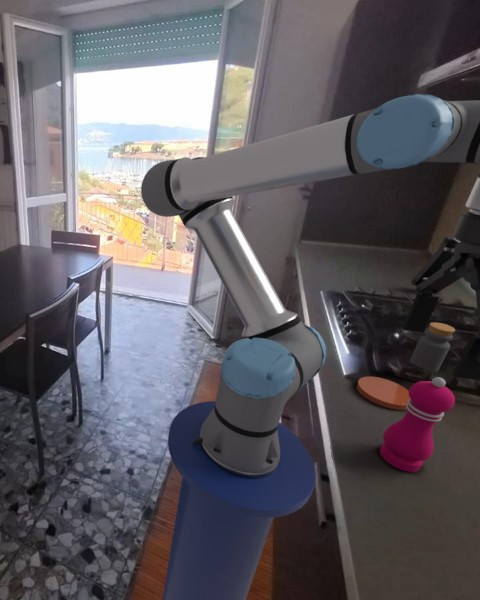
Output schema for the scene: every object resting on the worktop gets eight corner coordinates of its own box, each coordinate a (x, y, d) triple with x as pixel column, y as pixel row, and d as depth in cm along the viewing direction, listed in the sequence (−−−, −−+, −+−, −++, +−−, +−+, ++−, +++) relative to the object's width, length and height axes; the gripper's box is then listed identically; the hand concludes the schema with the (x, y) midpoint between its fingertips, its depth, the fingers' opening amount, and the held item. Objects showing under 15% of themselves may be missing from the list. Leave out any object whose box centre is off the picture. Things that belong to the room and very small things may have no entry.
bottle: (439, 382, 93) (465, 333, 87) (413, 380, 94) (437, 331, 88) (423, 369, 98) (447, 322, 92) (400, 367, 99) (421, 320, 93)
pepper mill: (408, 479, 67) (454, 396, 59) (368, 451, 73) (404, 371, 65) (431, 467, 70) (478, 385, 61) (390, 440, 76) (428, 362, 67)
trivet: (366, 405, 86) (369, 400, 85) (349, 377, 95) (351, 373, 95) (421, 413, 83) (424, 408, 82) (398, 384, 92) (400, 380, 92)
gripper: (650, 240, 34) (534, 409, 43) (473, 199, 56) (420, 317, 65) (550, 235, 36) (458, 398, 45) (416, 197, 58) (372, 313, 67)
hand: (436, 351), depth 55 cm, fingers open, 13 cm apart
